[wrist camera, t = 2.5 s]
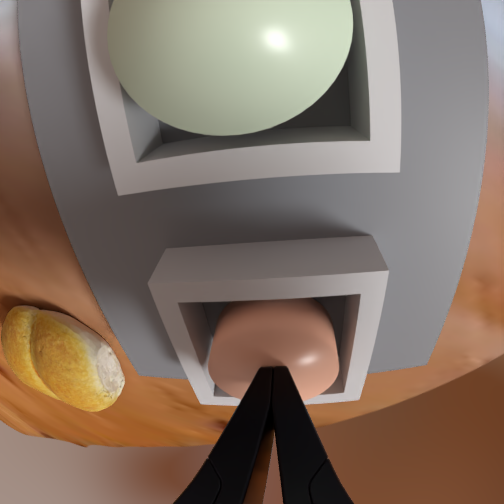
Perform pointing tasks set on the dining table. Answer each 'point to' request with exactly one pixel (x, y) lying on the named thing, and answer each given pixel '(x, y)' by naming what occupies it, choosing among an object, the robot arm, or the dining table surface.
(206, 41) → the sage button
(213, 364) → the terracotta button
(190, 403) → the dining table surface
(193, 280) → the panel
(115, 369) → the bread roll
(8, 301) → the dining table surface
